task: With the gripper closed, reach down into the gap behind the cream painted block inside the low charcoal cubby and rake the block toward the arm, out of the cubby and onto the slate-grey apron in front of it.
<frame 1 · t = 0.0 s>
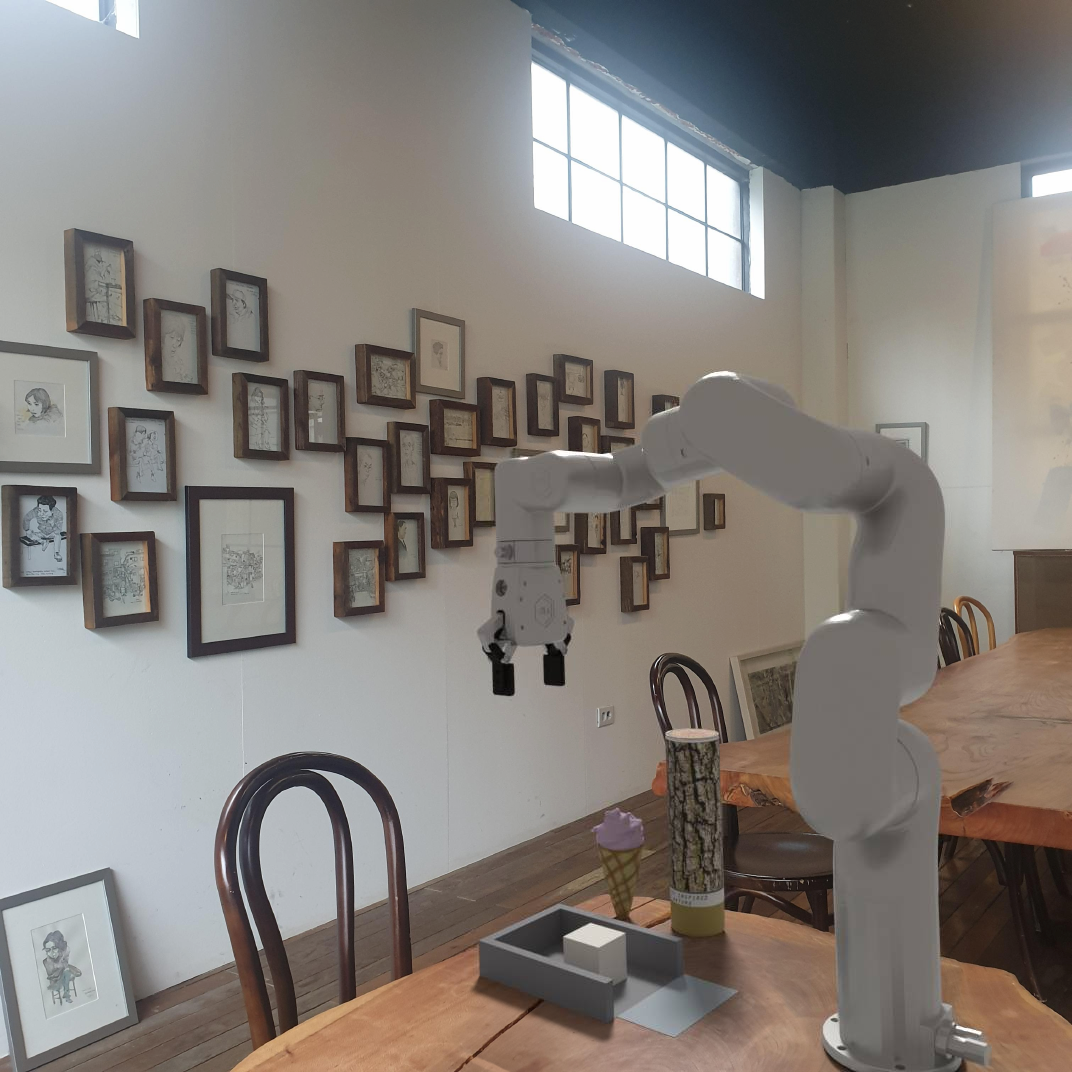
hand: (529, 690, 123), 31 cm above the table, fingers open, 9 cm apart
cubby: (581, 979, 110), on the table
paper tube: (698, 932, 123), on the table
ice cream cone: (620, 921, 128), on the table
cream block: (595, 979, 109), resting on cubby
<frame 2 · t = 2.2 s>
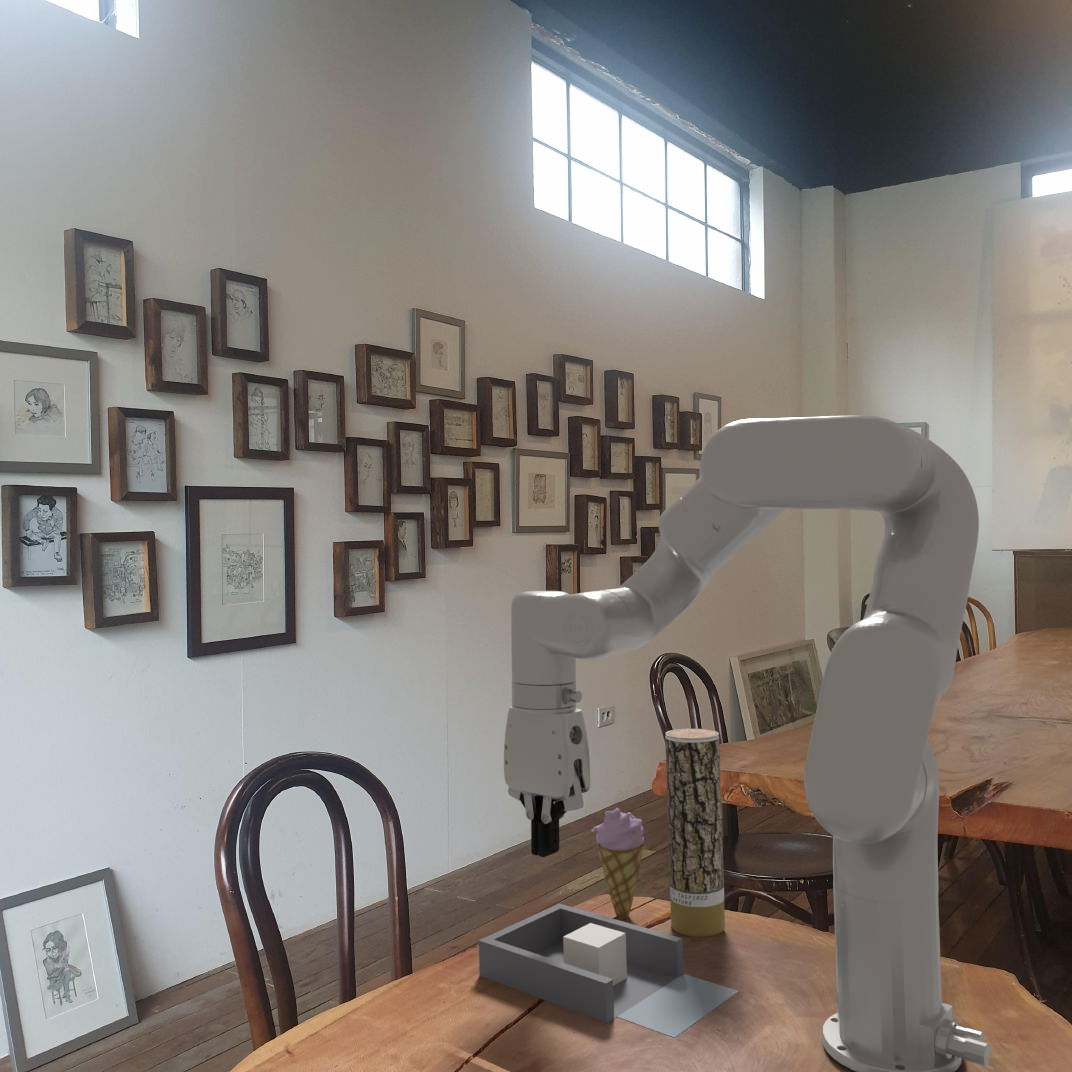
hand: (545, 852, 113), 13 cm above the table, fingers closed
nothing on the table moved.
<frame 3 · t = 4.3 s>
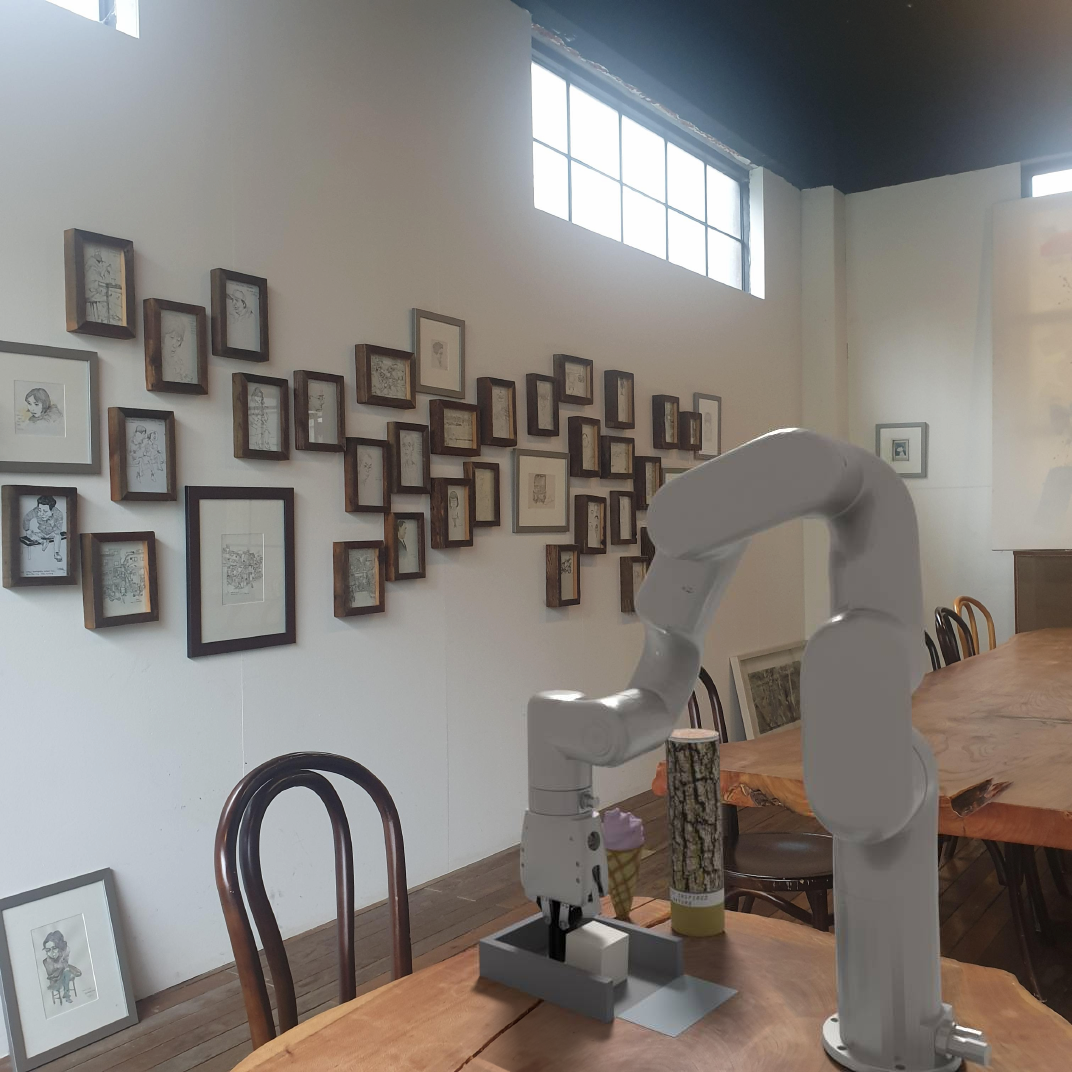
hand: (563, 957, 112), 2 cm above the table, fingers closed
cream block: (596, 978, 109), point 1 cm above the table, touching cubby, gripper
everything else where it was.
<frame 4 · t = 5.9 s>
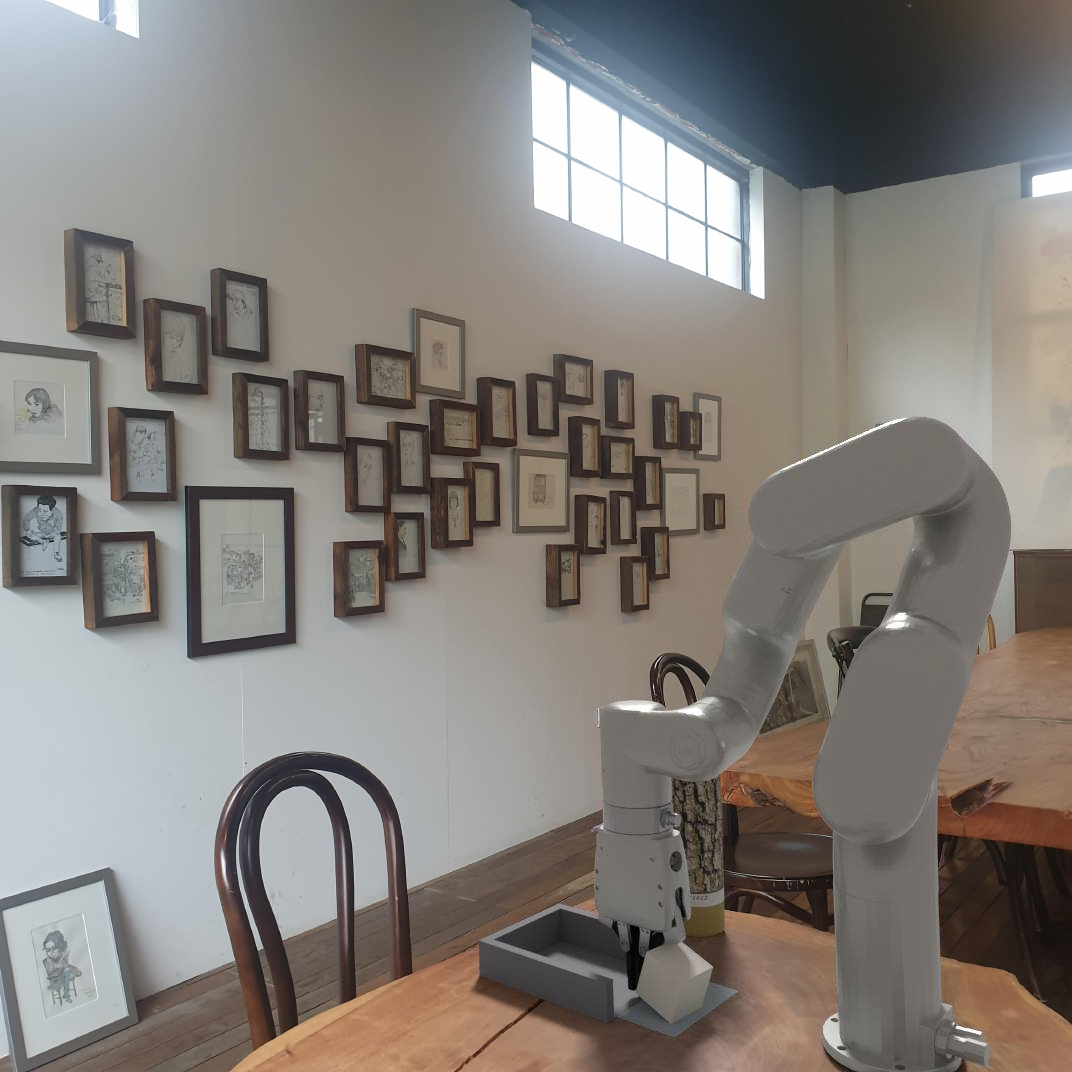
hand: (642, 987, 105), 1 cm above the table, fingers closed
cream block: (668, 1000, 102), point 1 cm above the table, tilted 20°, touching cubby, gripper
everything else where it was.
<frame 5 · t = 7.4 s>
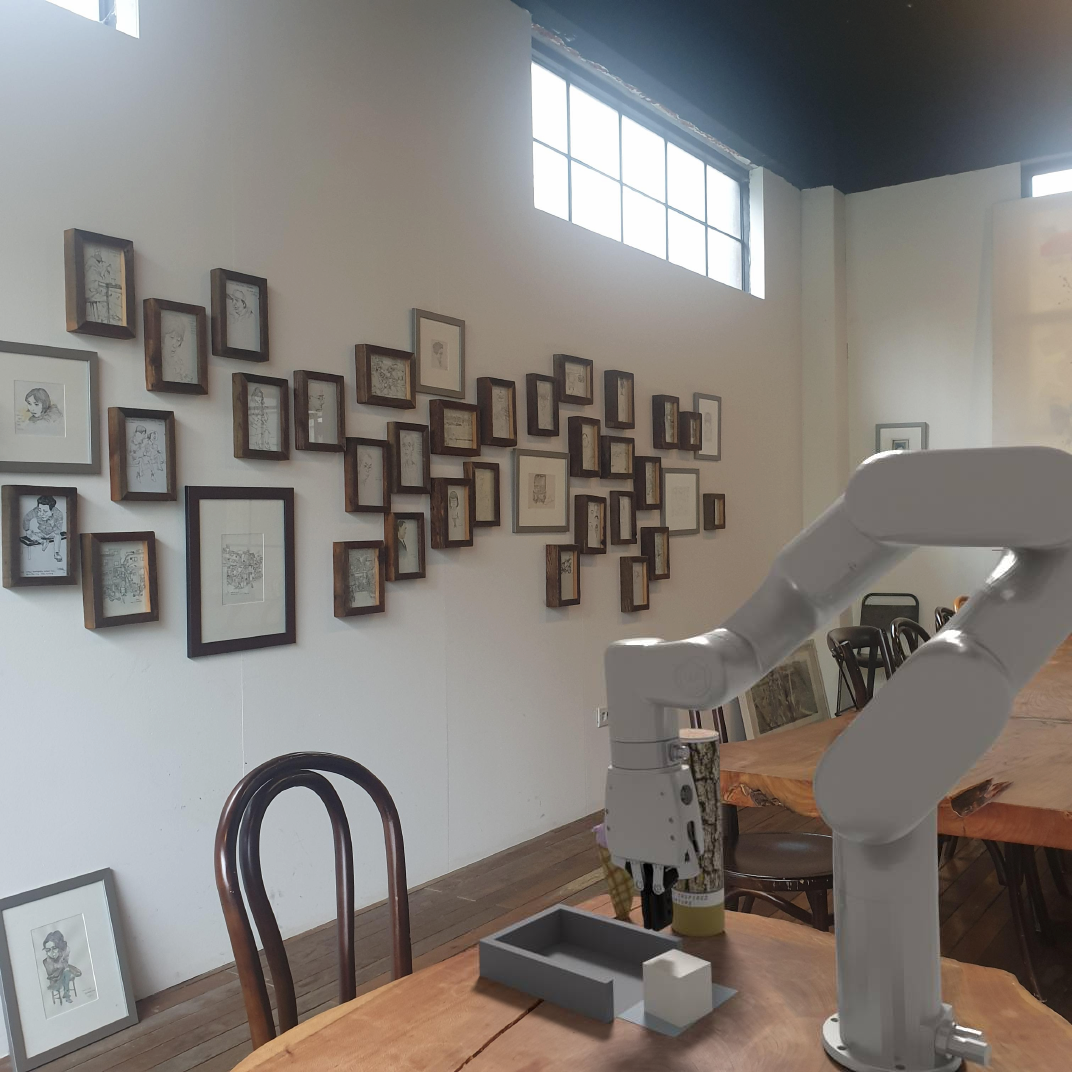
hand: (658, 926, 104), 8 cm above the table, fingers closed
cream block: (678, 1011, 101), resting on cubby
everything else where it was.
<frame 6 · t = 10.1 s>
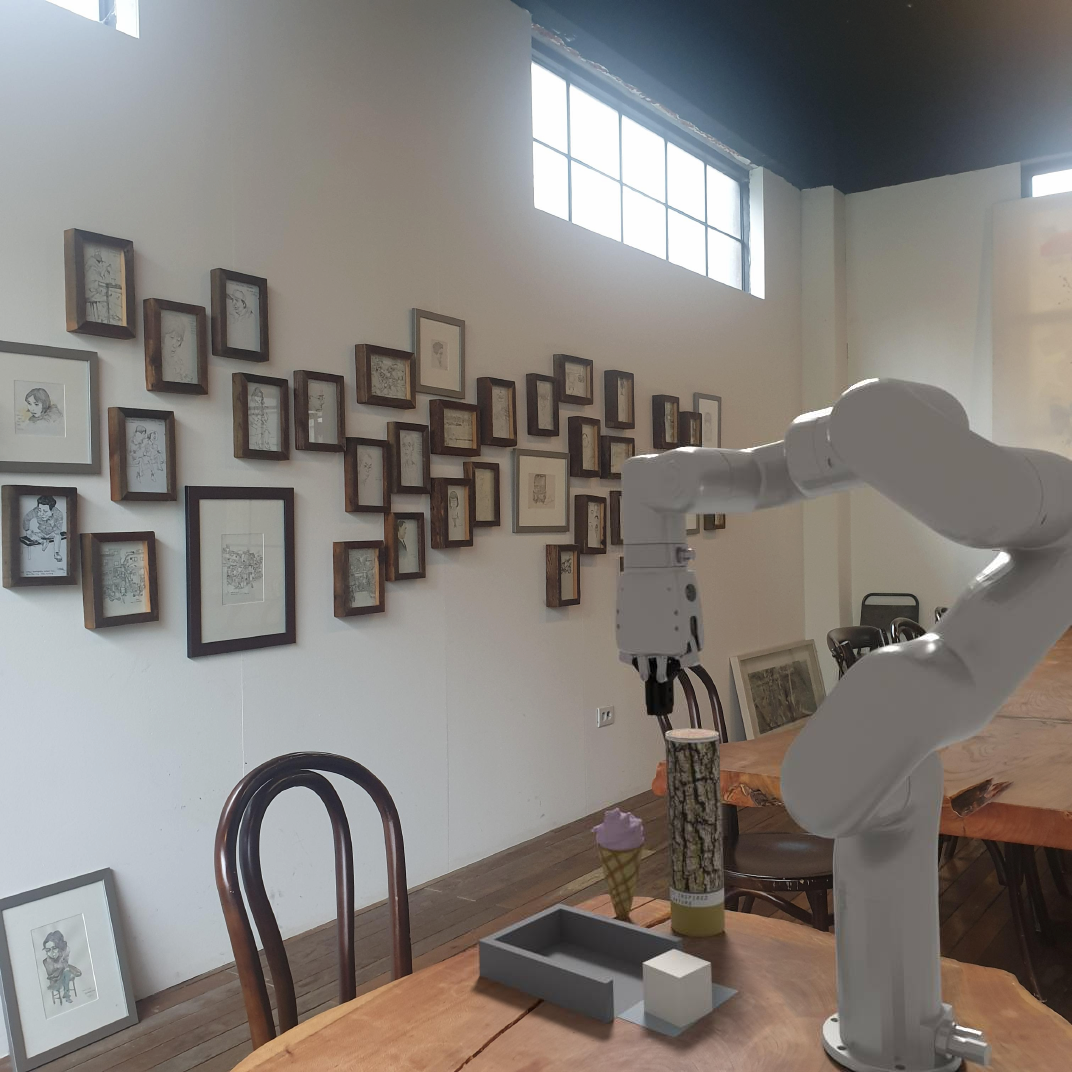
hand: (660, 713, 115), 29 cm above the table, fingers closed
nothing on the table moved.
at the end: cream block inside the target area (1.4 cm from its centre), point 0.5 cm above the table; cream block tilted 0°; cream block moved 11.4 cm from its start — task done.
